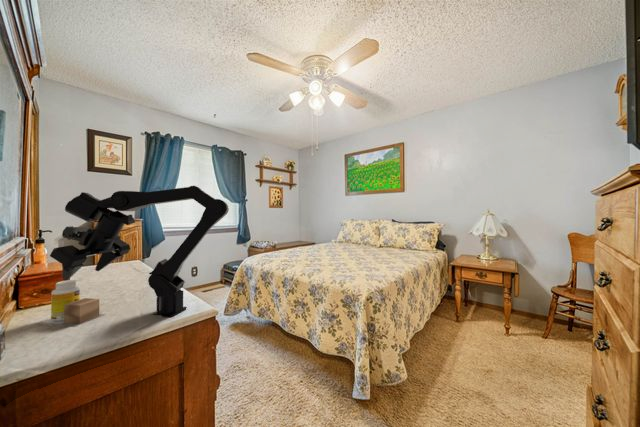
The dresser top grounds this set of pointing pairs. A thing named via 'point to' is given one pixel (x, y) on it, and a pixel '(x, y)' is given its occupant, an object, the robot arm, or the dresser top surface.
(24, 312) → the dresser top surface
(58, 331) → the dresser top surface
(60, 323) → the grey flat slab
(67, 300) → the supplement bottle
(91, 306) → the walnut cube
